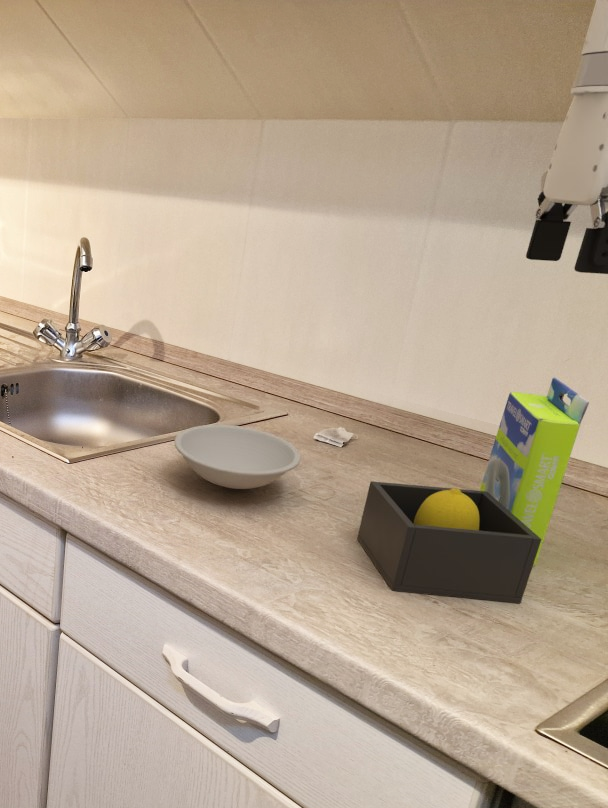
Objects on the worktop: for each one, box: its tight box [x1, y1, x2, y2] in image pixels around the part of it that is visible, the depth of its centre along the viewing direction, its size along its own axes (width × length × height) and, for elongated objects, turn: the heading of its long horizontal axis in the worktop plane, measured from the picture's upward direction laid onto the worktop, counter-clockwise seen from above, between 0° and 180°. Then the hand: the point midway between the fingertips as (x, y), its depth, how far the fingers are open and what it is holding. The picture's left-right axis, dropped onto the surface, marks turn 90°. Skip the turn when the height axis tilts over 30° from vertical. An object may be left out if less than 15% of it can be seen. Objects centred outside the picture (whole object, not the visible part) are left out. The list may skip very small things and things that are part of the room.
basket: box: [356, 481, 541, 604], centre depth 83 cm, size 11×11×7 cm
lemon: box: [413, 487, 480, 531], centre depth 82 cm, size 6×6×8 cm
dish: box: [174, 424, 302, 490], centre depth 102 cm, size 18×14×5 cm
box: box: [479, 377, 590, 566], centre depth 87 cm, size 10×4×17 cm, turn 164°
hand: (566, 265), depth 85 cm, fingers open, 9 cm apart
